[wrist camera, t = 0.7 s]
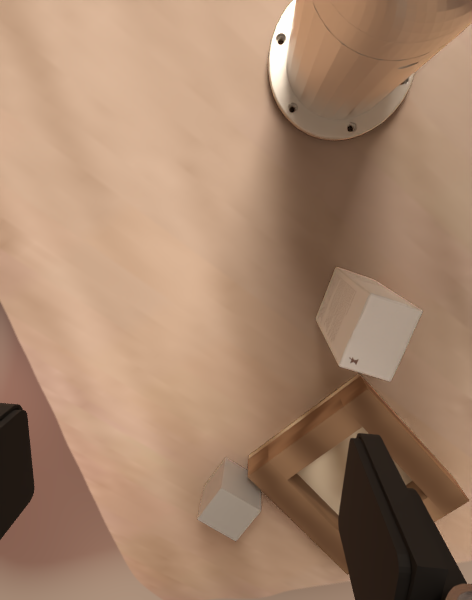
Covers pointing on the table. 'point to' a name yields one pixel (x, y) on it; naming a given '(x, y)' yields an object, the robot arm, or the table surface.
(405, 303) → the skincare box
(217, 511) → the grey cube
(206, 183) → the table surface
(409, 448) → the socket block
